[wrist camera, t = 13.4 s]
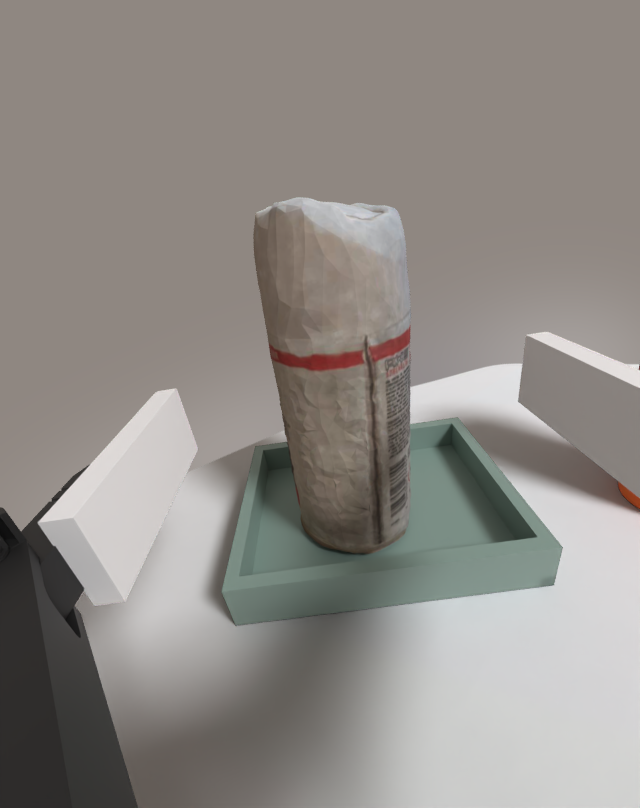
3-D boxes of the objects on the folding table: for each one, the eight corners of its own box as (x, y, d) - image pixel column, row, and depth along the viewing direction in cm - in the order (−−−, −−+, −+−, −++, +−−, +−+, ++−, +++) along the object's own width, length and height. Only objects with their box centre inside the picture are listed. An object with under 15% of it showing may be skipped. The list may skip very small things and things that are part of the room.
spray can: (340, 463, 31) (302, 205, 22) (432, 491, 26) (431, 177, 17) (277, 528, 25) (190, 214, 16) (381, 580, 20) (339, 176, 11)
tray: (235, 625, 20) (221, 591, 19) (262, 473, 33) (255, 446, 31) (553, 585, 19) (562, 547, 18) (456, 445, 32) (457, 417, 31)
